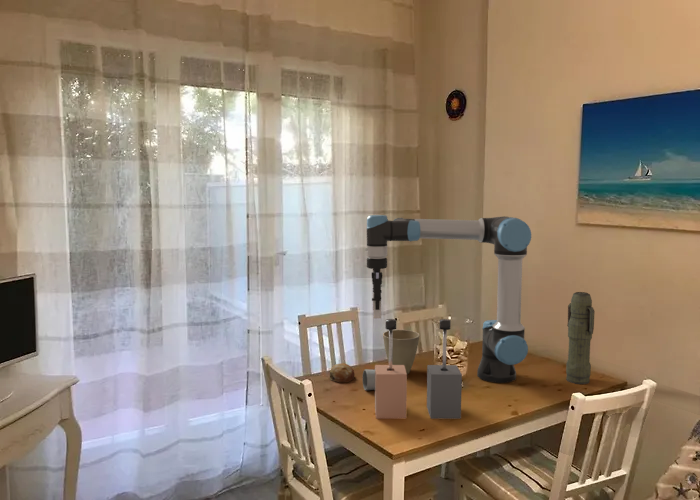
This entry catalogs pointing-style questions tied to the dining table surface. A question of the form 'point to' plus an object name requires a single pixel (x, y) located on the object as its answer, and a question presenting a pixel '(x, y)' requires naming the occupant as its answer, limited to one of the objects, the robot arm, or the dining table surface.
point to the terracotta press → (390, 391)
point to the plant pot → (402, 347)
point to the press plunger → (390, 338)
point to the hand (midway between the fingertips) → (376, 314)
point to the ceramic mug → (369, 379)
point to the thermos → (579, 338)
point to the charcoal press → (444, 392)
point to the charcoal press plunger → (444, 338)
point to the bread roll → (341, 373)
